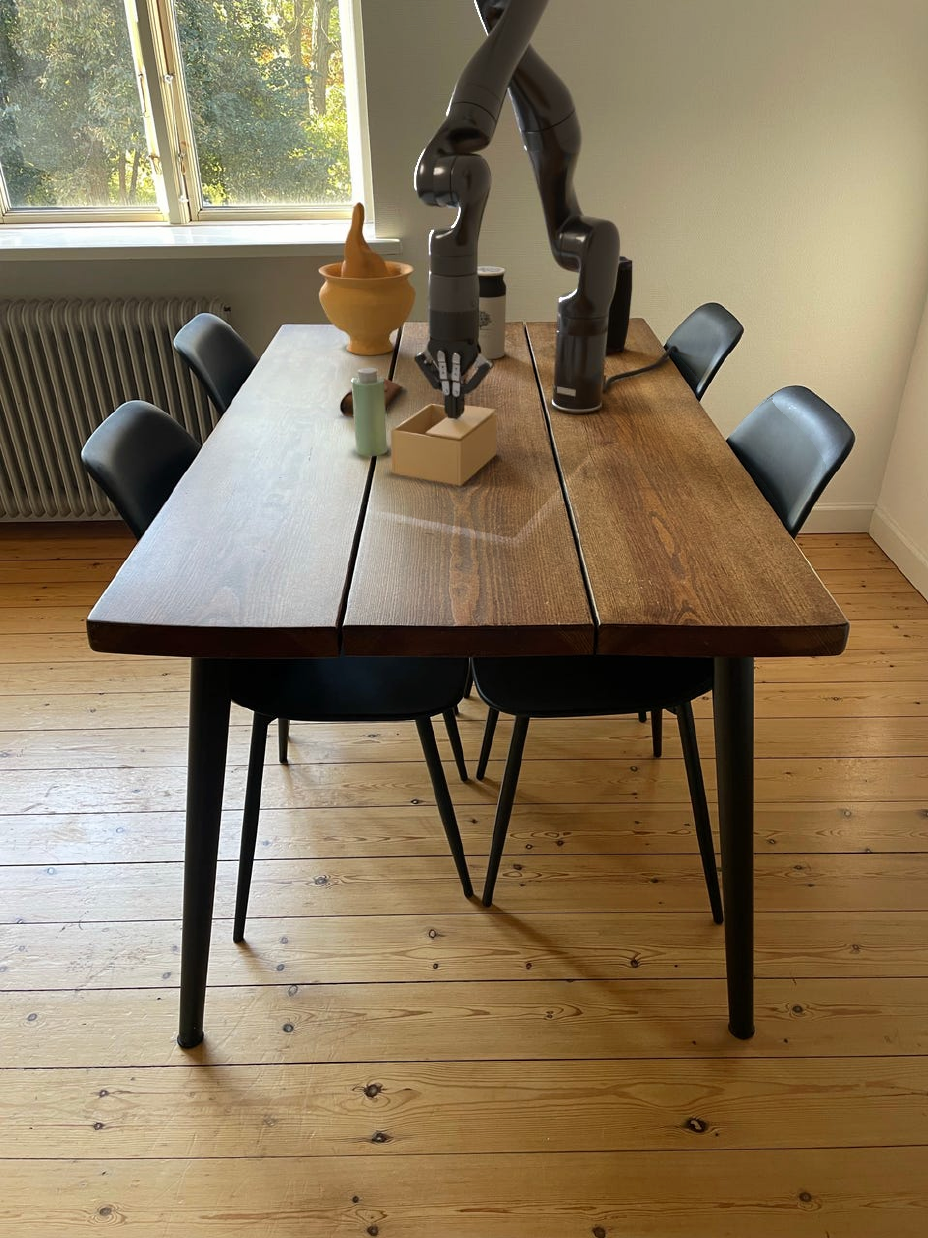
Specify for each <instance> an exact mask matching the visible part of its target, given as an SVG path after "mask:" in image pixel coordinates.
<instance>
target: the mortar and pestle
mask: <svg viewBox="0 0 928 1238" xmlns="http://www.w3.org/2000/svg"><path fill="white" fill-rule="evenodd" d="M365 210H366V209H365V207H364V204H363V203H362V202H360V201H359V202H356V204H355V205H354V206H353V208H352V214H351V223H350V228H349V230H348V232H347V235H346V239H345V241H344V242H345V243H344V252H343V253H344V261H342V262H341V261H340V262H334V263H331V264H327V265H324V266H322V267H320V268H318V272H319V274H320V275H321V276H322V277H323V278H324V279H325V282H324V284H323V285H322V286H321V288H320V290H319V293H318V297H319V302H320V304H321V307H322V309H323V311H324V313H325V315H326V317H327V319H328V320H329V322H330V323H331V324H332V325H333V326H334V327H335V328H337V329H338V330H339V331H342V332H344V333H346V335H347V336H348V338H349V342H348V345H347V346H346V351H348V352H349V353H351V354H355V355H363V356H365V355H366V356H374V355H381V354H387V353H389V352H391V351H393V350H394V345H393V344H392V341H391V339H390V338H391V334H392V333H393V332H394V331H396V330H398V329H399V328H401V327H402V326H403V325H404V324H405V323H406V322H407V320H408V319H409V316H410V315H411V313H412V310H413V308H414V305H415V301H416V294H417V293H416V290H415V288H414V286H413V285H412V284H411V282H410V281H409V280H408V279H409V277H410V275H411V274H412V273H413V272H414V270H415V269H414V267H413V266H411V265H409V264H406V263H403V262H396V261H388V260H384V258H383V257H382V256H381V255H380V254H379V253H378V252H375V251H373V250H372V248H371V247H370V246H369V243H367V241H366V239H365V236H364V233H363V229H364V224H365V218H366V215H365V214H366V213H365Z"/></svg>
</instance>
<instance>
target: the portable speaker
mask: <svg viewBox="0 0 928 1238" xmlns="http://www.w3.org/2000/svg"><path fill="white" fill-rule="evenodd" d="M633 262H634V261H633V260H632V259H629V258H627V257H626V256H623V255H620V257H619V264H618V271H617V278H616V286H615V292H614V296H613V299H612V301H611V304H610V307H609V317H608V329H607V342H606V354H605V356H610V354H611V353H612V352H616V351H619V352H621V353H625V345H626V341H627V337H628V331H629V325H630V316H631V305H632V295H633Z"/></svg>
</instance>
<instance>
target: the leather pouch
mask: <svg viewBox="0 0 928 1238" xmlns="http://www.w3.org/2000/svg"><path fill="white" fill-rule="evenodd" d="M377 376H379V377H382V378H383V379H384V389H385V411H386V410H387V408H388V407H389V405H390V404H391V403H392V402H393V400H394V399H395V397H397V395H398V394H399V393H400V391H401V390H402V389H403V385H400V384H399V383H397V382H394V381H392V380H389V379H388V378H385V377H383V376H380V375H378V374H377ZM339 410H340V412H341V413H342V415H343V416H345V417H351V418H354V411H353V395H352V386H351V387H350V388H349V389H348V391H347V392H346V393H345V395H344V396H343V398H342V399H341V401H340V403H339Z"/></svg>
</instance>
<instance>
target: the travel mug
mask: <svg viewBox="0 0 928 1238" xmlns="http://www.w3.org/2000/svg"><path fill="white" fill-rule="evenodd" d="M505 273H506V269H504V267H498V266H489V265H488V266H478V280H479V338H478V341H479V345H480V347H481V354H482V355H483V356H484V357H485V358H486V359H487V360H488V361H489V360H496V359H500V358H502V357H504V356H505V353H506V352H505V351H506V348H505V347H506V344H505V343H506V312H507V311H506V310H507V285H506V282H505V280H504V278H505Z"/></svg>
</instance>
